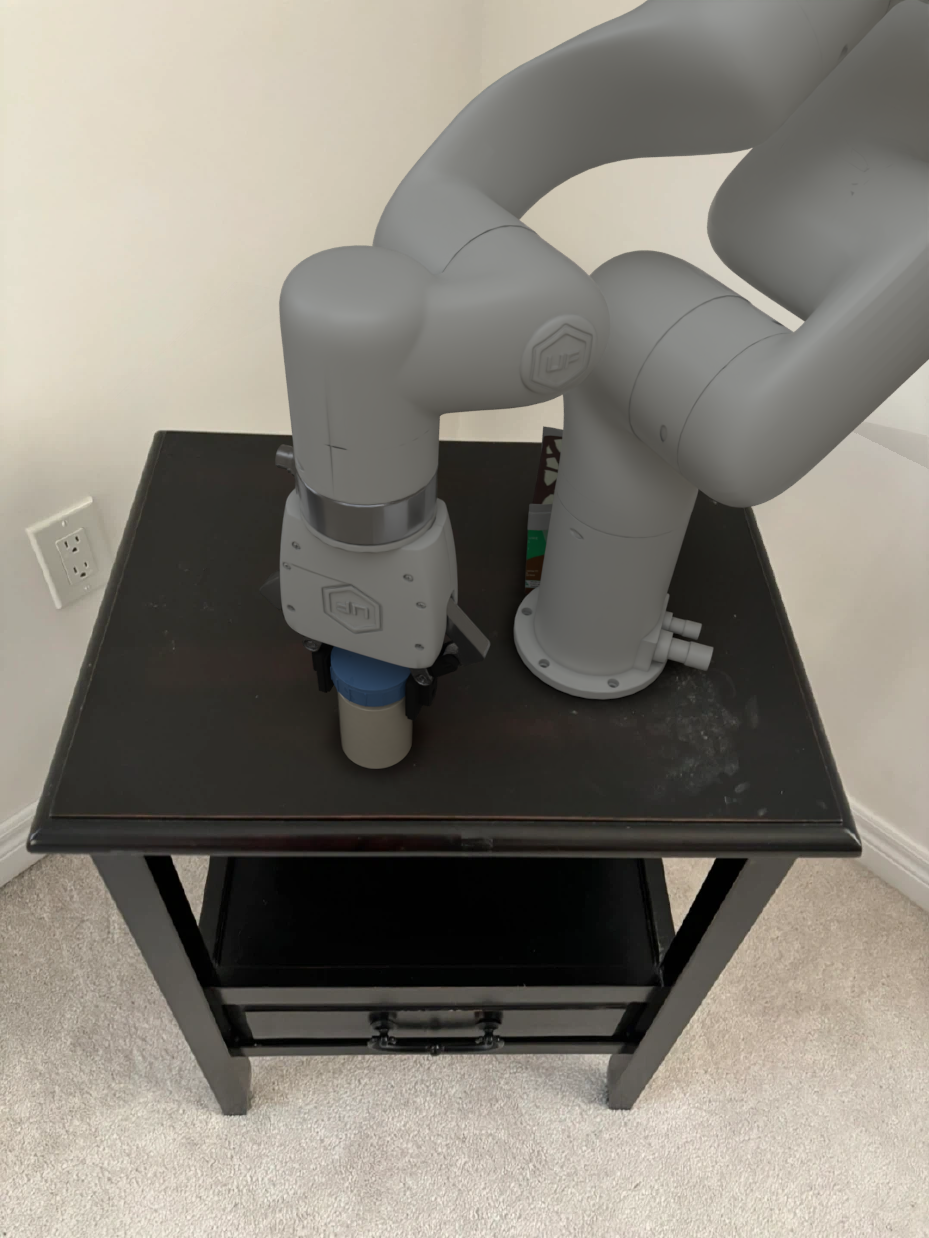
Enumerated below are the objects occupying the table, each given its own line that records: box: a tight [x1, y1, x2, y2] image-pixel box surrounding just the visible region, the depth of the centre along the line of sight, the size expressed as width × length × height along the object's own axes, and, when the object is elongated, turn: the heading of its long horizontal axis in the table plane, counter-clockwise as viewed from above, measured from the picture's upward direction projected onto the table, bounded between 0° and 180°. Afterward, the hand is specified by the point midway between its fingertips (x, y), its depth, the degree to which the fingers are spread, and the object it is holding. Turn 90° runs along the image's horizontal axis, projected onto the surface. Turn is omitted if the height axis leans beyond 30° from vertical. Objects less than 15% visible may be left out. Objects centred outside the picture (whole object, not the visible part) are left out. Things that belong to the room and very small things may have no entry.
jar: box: [336, 691, 414, 770], centre depth 65 cm, size 5×5×9 cm
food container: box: [524, 425, 563, 595], centre depth 78 cm, size 12×6×10 cm, turn 171°
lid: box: [330, 646, 411, 707], centre depth 62 cm, size 6×6×2 cm
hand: (375, 688), depth 64 cm, fingers closed on lid, 5 cm apart
